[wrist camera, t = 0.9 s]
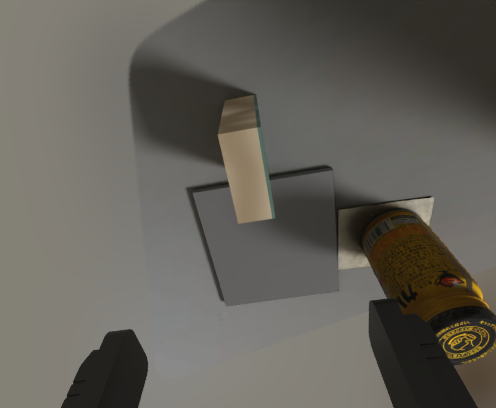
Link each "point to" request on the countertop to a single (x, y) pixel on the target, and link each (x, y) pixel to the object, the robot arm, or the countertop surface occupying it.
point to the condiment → (419, 273)
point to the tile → (245, 159)
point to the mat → (274, 240)
